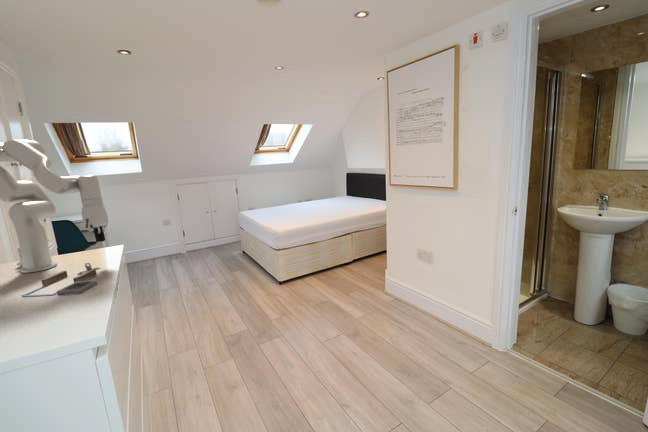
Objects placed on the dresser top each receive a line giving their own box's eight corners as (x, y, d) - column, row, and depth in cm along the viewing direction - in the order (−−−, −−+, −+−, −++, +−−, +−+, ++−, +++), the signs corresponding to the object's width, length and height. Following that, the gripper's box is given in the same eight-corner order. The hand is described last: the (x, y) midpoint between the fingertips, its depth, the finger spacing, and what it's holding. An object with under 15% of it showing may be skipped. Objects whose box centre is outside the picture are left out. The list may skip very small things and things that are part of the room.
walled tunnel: (42, 285, 119) (41, 279, 118) (64, 276, 128) (62, 270, 128) (78, 284, 119) (76, 278, 118) (96, 274, 128) (95, 269, 128)
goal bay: (19, 297, 109) (19, 296, 109) (42, 286, 118) (42, 286, 118) (52, 295, 109) (52, 294, 109) (73, 285, 118) (73, 284, 118)
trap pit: (57, 295, 109) (56, 291, 109) (77, 285, 118) (76, 281, 117) (79, 294, 109) (78, 290, 109) (97, 284, 118) (97, 280, 117)
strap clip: (82, 276, 129) (80, 266, 128) (76, 275, 130) (74, 266, 129) (101, 269, 137) (99, 260, 136) (96, 268, 138) (94, 259, 137)
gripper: (96, 201, 144) (104, 237, 148) (71, 205, 130) (80, 246, 133) (111, 199, 144) (119, 236, 148) (88, 204, 130) (97, 244, 133)
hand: (100, 241), depth 140 cm, fingers closed
